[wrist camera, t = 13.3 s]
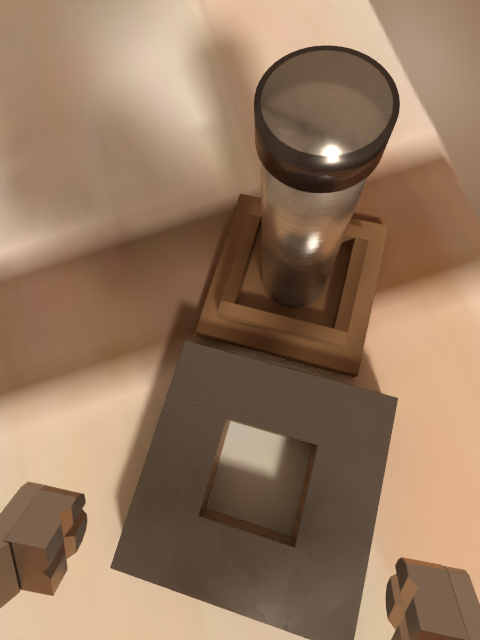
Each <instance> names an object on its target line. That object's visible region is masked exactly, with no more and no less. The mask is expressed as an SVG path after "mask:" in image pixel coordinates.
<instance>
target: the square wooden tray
mask: <svg viewBox="0 0 480 640" xmlns="http://www.w3.org/2000/svg"><path fill="white" fill-rule="evenodd" d="M388 228H389V226H387V225H382V224H378V223H373V222H368V221H364V220H359V219H354V218H351V221H350V223H349V226H348V228H347V231H346V234H345V236H344V239H343V241H342V244H341V246H340V249H339V252H338V254H337V257H336V259H335V262H334V264H333V267H332V270H331V272H330V275H329V277H328V280H327V282H326V285H325V288H324V290H323V292H322V294H321V295H320V296H319V297H318V299H316V300H315V301H314V302H312V303H311V304H309V305H306V306H303V307H297V308H292V307H286V306H283V305H280V304H278V303H277V302H275V301H274V300H272V299H271V298H270V297H269V296H268V294H267V293H266V291H265V289H264V286H263V282H262V204H261V198H257V197H252V196H248V195H243V194H240V196H239V199H238V202H237V205H236V208H235V211H234V214H233V217H232V220H231V224H230V227H229V230H228V233H227V236H226V239H225V242H224V245H223V248H222V251H221V254H220V257H219V260H218V264H217V267H216V270H215V273H214V276H213V279H212V282H211V285H210V288H209V291H208V294H207V297H206V301H205V304H204V307H203V310H202V313H201V316H200V319H199V322H198V325H197V328H196V331H195V332H196V333H197V335H200V336H203V337H207V338H211V339H214V340H218V341H222V342H226V343H229V344H233V345H237V346H241V347H244V348H248V349H252V350H256V351H259V352H263V353H267V354H271V355H274V356H278V357H282V358H286V359H289V360H293V361H297V362H300V363H304V364H308V365H312V366H315V367H319V368H323V369H327V370H330V371H334V372H338V373H342V374H345V375H349V376H353V377H355V376H357V375H358V370H359V365H360V361H361V356H362V351H363V346H364V342H365V337H366V332H367V327H368V323H369V318H370V313H371V308H372V304H373V299H374V294H375V289H376V285H377V280H378V275H379V271H380V266H381V261H382V256H383V252H384V247H385V242H386V237H387V233H388Z"/></svg>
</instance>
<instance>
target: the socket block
mask: <svg viewBox="0 0 480 640" xmlns="http://www.w3.org/2000/svg"><path fill="white" fill-rule="evenodd" d="M397 401H398V398H396V397H392V396H389V395H385V394H381V393H378V392H374V391H370V390H366V389H363V388H359V387H355V386H352V385H348V384H344V383H341V382H337V381H333V380H329V379H326V378H322V377H318V376H315V375H311V374H307V373H304V372H300V371H296V370H292V369H289V368H285V367H281V366H278V365H274V364H270V363H267V362H263V361H259V360H256V359H252V358H248V357H244V356H241V355H237V354H233V353H230V352H226V351H222V350H219V349H215V348H211V347H207V346H204V345H200V344H196V343H193V342H189V341H185V342H184V345H183V348H182V352H181V355H180V358H179V361H178V364H177V367H176V370H175V373H174V376H173V379H172V382H171V385H170V388H169V391H168V394H167V397H166V400H165V403H164V406H163V409H162V412H161V415H160V418H159V421H158V424H157V427H156V430H155V433H154V436H153V440H152V443H151V446H150V449H149V452H148V455H147V458H146V461H145V464H144V467H143V470H142V473H141V476H140V479H139V482H138V485H137V488H136V491H135V494H134V497H133V500H132V503H131V506H130V509H129V512H128V515H127V518H126V521H125V524H124V528H123V531H122V534H121V537H120V540H119V543H118V546H117V549H116V552H115V555H114V558H113V561H112V564H111V567H110V568H112V569H115V570H118V571H120V572H123V573H126V574H129V575H131V576H134V577H137V578H140V579H143V580H145V581H148V582H151V583H154V584H157V585H159V586H162V587H165V588H168V589H170V590H173V591H176V592H179V593H182V594H184V595H187V596H190V597H193V598H196V599H198V600H201V601H204V602H207V603H210V604H212V605H215V606H218V607H221V608H223V609H226V610H229V611H232V612H235V613H237V614H240V615H243V616H246V617H249V618H251V619H254V620H257V621H260V622H263V623H265V624H268V625H271V626H274V627H276V628H279V629H282V630H285V631H288V632H290V633H293V634H296V635H299V636H302V637H304V638H307V639H310V640H354V637H355V631H356V626H357V620H358V615H359V609H360V604H361V598H362V593H363V587H364V582H365V576H366V571H367V565H368V560H369V554H370V549H371V543H372V538H373V532H374V527H375V521H376V516H377V510H378V505H379V499H380V494H381V488H382V483H383V478H384V472H385V467H386V461H387V456H388V450H389V445H390V439H391V434H392V428H393V423H394V417H395V412H396V406H397ZM230 421H233V422H237V423H240V424H243V425H247V426H250V427H254V428H257V429H260V430H264V431H267V432H271V433H274V434H277V435H281V436H284V437H288V438H291V439H294V440H298V441H301V442H305V443H308V444H312V445H313V447H312V451H311V455H310V460H309V464H308V468H307V473H306V477H305V482H304V486H303V490H302V495H301V499H300V503H299V508H298V512H297V516H296V521H295V525H294V530H293V534H292V536H288V535H285V534H282V533H279V532H276V531H273V530H270V529H267V528H264V527H261V526H258V525H255V524H252V523H249V522H246V521H243V520H239V519H236V518H233V517H230V516H227V515H224V514H221V513H218V512H215V511H212V510H209V509H206V504H207V501H208V497H209V494H210V490H211V487H212V483H213V479H214V476H215V472H216V469H217V465H218V462H219V458H220V455H221V451H222V448H223V444H224V441H225V437H226V434H227V430H228V427H229V423H230Z"/></svg>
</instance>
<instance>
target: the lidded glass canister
mask: <svg viewBox="0 0 480 640" xmlns="http://www.w3.org/2000/svg"><path fill="white" fill-rule="evenodd" d="M399 107H400V101H399V94H398V90H397V87H396V85H395V83H394V81H393V79H392V77H391V76H390V74H389V73H388V72H387V71H386V70H385V69H384V68H383V67H382V66H381V65H380V64H379V63H378V62H377V61H375V60H374V59H372V58H371V57H369V56H367V55H365V54H363V53H361V52H359V51H356V50H353V49H349V48H345V47H339V46H314V47H308V48H304V49H300V50H297V51H295V52H292V53H290V54H288V55H286V56H284V57H282V58H281V59H279V60H278V61H277V62H275V63H274V64H273V65H272V66H271V67H270V68H269V69H268V70H267V71H266V72H265V74H264V75H263V77H262V78H261V80H260V82H259V84H258V86H257V89H256V93H255V99H254V113H255V144H256V150H257V154H258V156H259V159H260V161H261V204H262V282H263V286H264V289H265V291H266V293H267V294H268V296H269V297H270V298H271V299H272V300H274V301H275V302H277V303H278V304H280V305H283V306H286V307H292V308H297V307H303V306H306V305H309V304H311V303H312V302H314V301H315V300H316V299H318V297H319V296H320V295H321V294H322V292H323V290H324V288H325V285H326V282H327V280H328V277H329V275H330V272H331V270H332V267H333V264H334V262H335V259H336V257H337V254H338V252H339V249H340V246H341V244H342V241H343V239H344V236H345V234H346V231H347V228H348V226H349V223H350V221H351V218H352V215H353V213H354V210H355V208H356V205H357V203H358V200H359V197H360V195H361V192H362V190H363V187H364V185H365V182H366V179H367V177H368V176H369V175H370V174H371V173H372V172H373V171H374V169H375V168H376V167H377V165H378V164H379V162H380V159H381V157H382V155H383V153H384V150H385V148H386V145H387V143H388V140H389V138H390V136H391V133H392V131H393V128H394V126H395V123H396V121H397V118H398V114H399Z"/></svg>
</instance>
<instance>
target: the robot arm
mask: <svg viewBox="0 0 480 640" xmlns="http://www.w3.org/2000/svg"><path fill="white" fill-rule="evenodd" d="M85 503H86V502H85V495H84V494H82V493H78V492H73V491H69V490H64V489H60V488H55V487H51V486H47V485H42V484H37V483H32V482H27V483H26V484H24V485H23V486H22V487H21V488H20V489H19V490H18V492H17V493H16V494H15V495H14V497H13V498H12V499H11V501H10V502H9V503H8V505H7V506H6V507H5V508H4V510H3V511H2V512H1V514H0V608H1V607H2V606H4V605H5V604H6V603H7V602H8V601H10V600H11V599H12V598H13V597H14V596H16V595H17V594H18V593H19V592H20V590H25V591H31V592H36V593H41V594H46V595H52V596H54V594H55V592H56V590H57V588H58V586H59V584H60V582H61V581H62V579H63V577H64V575H65V573H66V571H67V561H66V559H67V558H69V557H70V556H72V555H73V554H75V553H76V552H77V550H78V548H79V546H80V544H81V542H82V540H83V537H84V534H85V531H86V526H87V514H86V513H85V512H84V511H83V509H82V508H83V506H84V505H85ZM395 567H396V572H397V574H395V575H393V576H391V577H390V579H389V581H388V584H387V589H386V610H387V617H388V620H389V621H390V623H391V624H392V626H393V627H394V628H395V630H396V631H395V633H394V635H393V637H392V639H391V640H480V604H479V601H478V598H477V596H476V593H475V590H474V587H473V584H472V582H471V579H470V576H469V575H468V573H467V572H466V571H465V570H463V569H458V568H452V567H447V566H442V565H440V564H435V563H429V562H424V561H419V560H413V559H408V558H402V557H401V558H400V559H398V561H397V563H396V565H395Z"/></svg>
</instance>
